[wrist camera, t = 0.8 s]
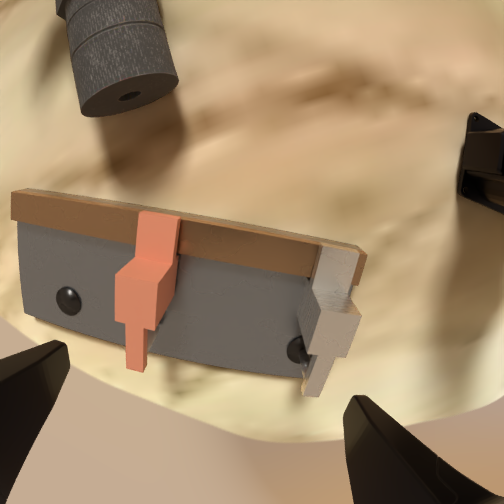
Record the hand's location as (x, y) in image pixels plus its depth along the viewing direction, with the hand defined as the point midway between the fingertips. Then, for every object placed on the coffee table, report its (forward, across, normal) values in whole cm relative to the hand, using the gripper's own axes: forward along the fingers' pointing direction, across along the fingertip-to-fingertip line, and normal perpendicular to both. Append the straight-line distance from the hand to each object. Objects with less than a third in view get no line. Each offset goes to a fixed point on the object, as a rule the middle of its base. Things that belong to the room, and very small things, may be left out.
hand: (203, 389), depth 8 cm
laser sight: (+12, +12, -19) cm, 26 cm away
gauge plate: (+12, +4, +2) cm, 13 cm away
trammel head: (+10, +4, +1) cm, 11 cm away
